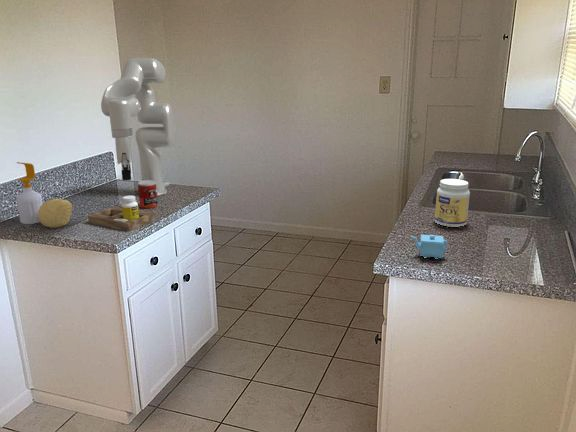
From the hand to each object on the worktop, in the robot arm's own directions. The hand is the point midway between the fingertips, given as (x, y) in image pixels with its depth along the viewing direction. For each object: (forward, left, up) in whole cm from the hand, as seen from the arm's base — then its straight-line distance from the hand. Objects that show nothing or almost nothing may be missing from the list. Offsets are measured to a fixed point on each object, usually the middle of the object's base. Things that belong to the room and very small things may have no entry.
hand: (126, 177), depth 205 cm
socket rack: (0, -5, -19) cm, 20 cm away
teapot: (-21, +113, -19) cm, 116 cm away
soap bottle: (+16, -38, -19) cm, 46 cm away
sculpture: (+15, -25, -19) cm, 35 cm away
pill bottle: (0, 0, -19) cm, 19 cm away
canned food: (-21, -10, -19) cm, 30 cm away
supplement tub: (-58, +112, -19) cm, 127 cm away
